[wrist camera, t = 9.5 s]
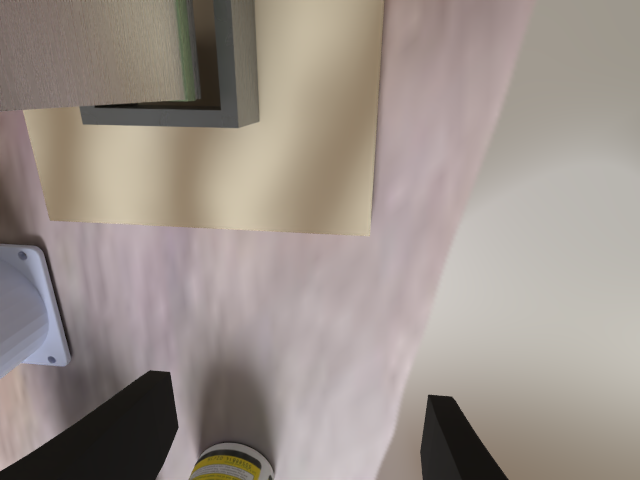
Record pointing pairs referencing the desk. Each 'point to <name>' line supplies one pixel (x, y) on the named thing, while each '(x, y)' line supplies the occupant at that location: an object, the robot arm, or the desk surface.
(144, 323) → the desk surface
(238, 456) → the supplement bottle
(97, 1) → the column
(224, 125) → the sleeve
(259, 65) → the stand base
